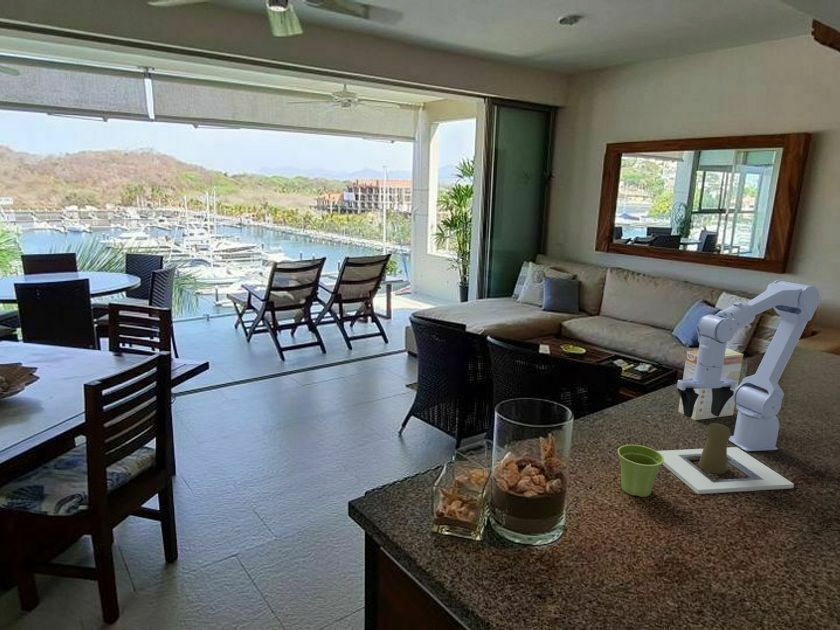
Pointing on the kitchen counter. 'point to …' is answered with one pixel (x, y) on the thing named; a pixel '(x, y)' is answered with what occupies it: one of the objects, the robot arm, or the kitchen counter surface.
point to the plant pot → (639, 469)
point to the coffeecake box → (705, 395)
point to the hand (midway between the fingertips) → (701, 415)
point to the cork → (715, 449)
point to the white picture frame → (704, 484)
